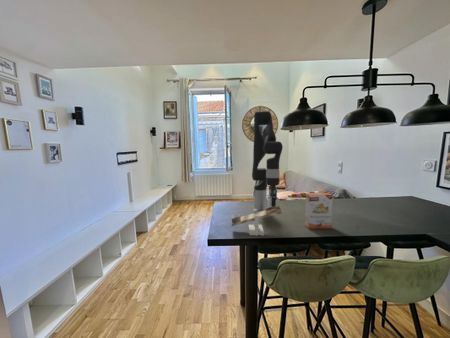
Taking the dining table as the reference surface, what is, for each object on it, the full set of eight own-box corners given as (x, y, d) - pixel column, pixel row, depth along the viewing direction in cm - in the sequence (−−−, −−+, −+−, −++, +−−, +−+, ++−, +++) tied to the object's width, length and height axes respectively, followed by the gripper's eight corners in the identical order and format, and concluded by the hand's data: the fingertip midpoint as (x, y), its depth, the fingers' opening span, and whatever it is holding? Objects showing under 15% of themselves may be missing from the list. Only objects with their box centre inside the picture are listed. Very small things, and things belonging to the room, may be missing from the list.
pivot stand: (249, 235, 122) (249, 215, 120) (248, 226, 135) (248, 208, 133) (263, 235, 121) (263, 215, 120) (261, 226, 134) (261, 208, 133)
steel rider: (267, 204, 128) (267, 196, 128) (276, 204, 128) (276, 196, 127) (268, 207, 123) (268, 198, 123) (277, 207, 123) (277, 198, 123)
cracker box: (308, 229, 128) (309, 195, 126) (304, 225, 134) (305, 192, 132) (332, 228, 128) (333, 194, 126) (327, 225, 134) (328, 192, 132)
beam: (232, 226, 124) (230, 219, 123) (232, 221, 133) (230, 214, 132) (282, 213, 121) (280, 206, 121) (279, 209, 130) (277, 202, 130)
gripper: (281, 178, 116) (281, 208, 118) (277, 174, 131) (277, 202, 133) (267, 178, 117) (267, 209, 119) (264, 174, 131) (264, 202, 133)
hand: (272, 205), depth 126 cm, fingers closed on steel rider, 5 cm apart
